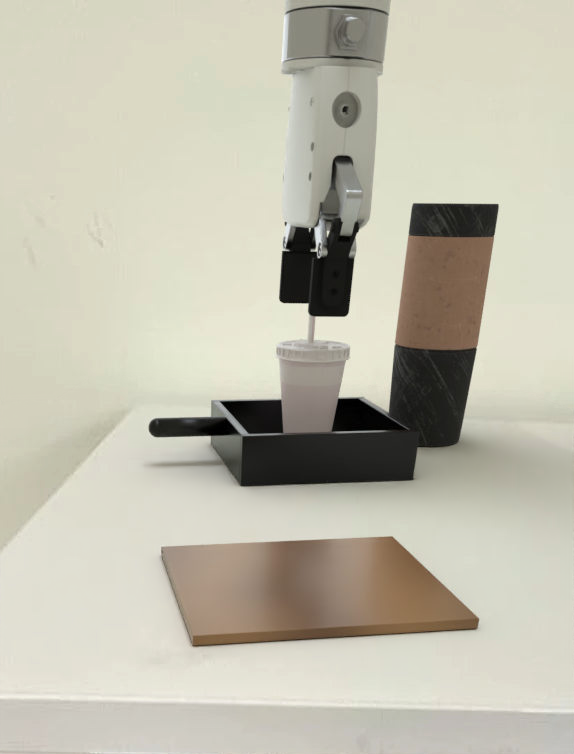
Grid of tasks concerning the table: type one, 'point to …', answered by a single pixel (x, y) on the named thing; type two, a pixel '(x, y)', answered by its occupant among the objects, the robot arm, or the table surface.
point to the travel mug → (440, 316)
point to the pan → (302, 443)
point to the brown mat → (308, 590)
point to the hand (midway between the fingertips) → (311, 309)
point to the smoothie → (310, 381)
